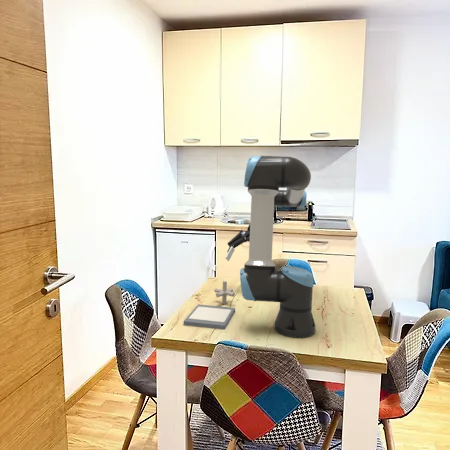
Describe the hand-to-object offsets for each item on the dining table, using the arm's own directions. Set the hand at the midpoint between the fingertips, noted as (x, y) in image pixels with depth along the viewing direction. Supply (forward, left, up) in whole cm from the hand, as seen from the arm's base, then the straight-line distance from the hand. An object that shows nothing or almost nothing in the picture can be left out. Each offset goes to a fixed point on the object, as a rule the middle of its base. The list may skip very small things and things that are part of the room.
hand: (239, 261), depth 194 cm
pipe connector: (-6, +9, -17) cm, 20 cm away
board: (-20, +21, -17) cm, 34 cm away
